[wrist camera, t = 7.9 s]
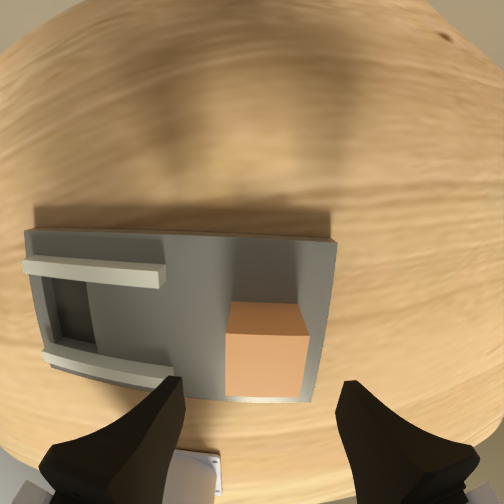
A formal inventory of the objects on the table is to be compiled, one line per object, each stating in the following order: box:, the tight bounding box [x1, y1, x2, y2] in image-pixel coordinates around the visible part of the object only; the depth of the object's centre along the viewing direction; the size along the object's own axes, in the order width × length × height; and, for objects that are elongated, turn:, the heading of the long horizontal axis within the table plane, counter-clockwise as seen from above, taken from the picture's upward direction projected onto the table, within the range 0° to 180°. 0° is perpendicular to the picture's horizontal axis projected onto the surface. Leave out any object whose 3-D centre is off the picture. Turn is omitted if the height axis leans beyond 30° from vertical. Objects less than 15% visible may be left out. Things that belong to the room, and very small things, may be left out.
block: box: [225, 301, 310, 397], centre depth 15 cm, size 4×4×4 cm
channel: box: [22, 228, 337, 403], centre depth 17 cm, size 12×22×3 cm, turn 87°
